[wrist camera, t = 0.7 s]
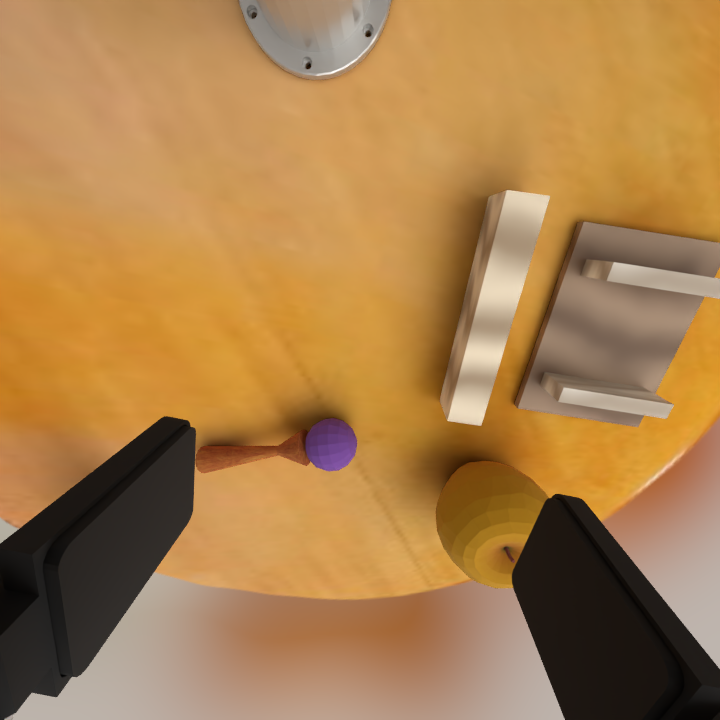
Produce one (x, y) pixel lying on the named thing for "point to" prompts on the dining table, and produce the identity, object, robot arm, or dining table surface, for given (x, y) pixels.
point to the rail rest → (617, 323)
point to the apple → (487, 519)
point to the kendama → (290, 449)
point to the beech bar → (491, 302)
